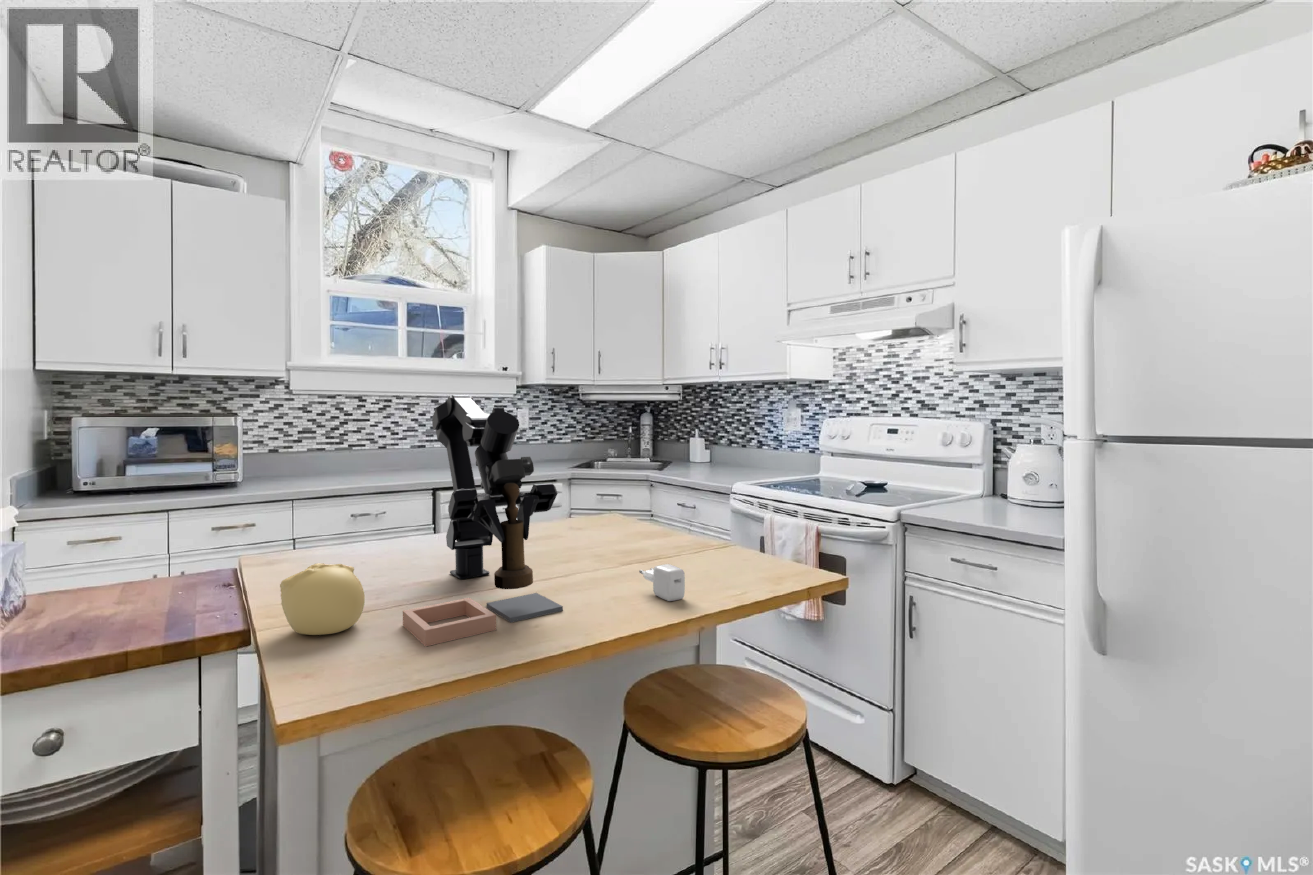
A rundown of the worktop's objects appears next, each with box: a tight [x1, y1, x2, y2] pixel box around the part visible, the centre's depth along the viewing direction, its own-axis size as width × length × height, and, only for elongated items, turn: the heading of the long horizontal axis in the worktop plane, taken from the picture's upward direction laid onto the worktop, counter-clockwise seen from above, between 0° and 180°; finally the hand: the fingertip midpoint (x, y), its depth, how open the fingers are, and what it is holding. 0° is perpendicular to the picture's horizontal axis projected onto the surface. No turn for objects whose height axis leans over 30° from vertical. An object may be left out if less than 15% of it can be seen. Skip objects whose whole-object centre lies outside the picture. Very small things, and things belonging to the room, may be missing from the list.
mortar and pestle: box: [493, 483, 534, 590], centre depth 111 cm, size 7×6×18 cm
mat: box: [485, 592, 564, 623], centre depth 113 cm, size 10×10×1 cm
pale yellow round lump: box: [279, 562, 366, 636], centre depth 103 cm, size 11×12×11 cm
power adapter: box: [638, 563, 686, 602], centre depth 122 cm, size 11×5×6 cm, turn 33°
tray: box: [402, 597, 497, 647], centre depth 104 cm, size 11×11×2 cm
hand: (515, 540), depth 110 cm, fingers closed on mortar and pestle, 4 cm apart
